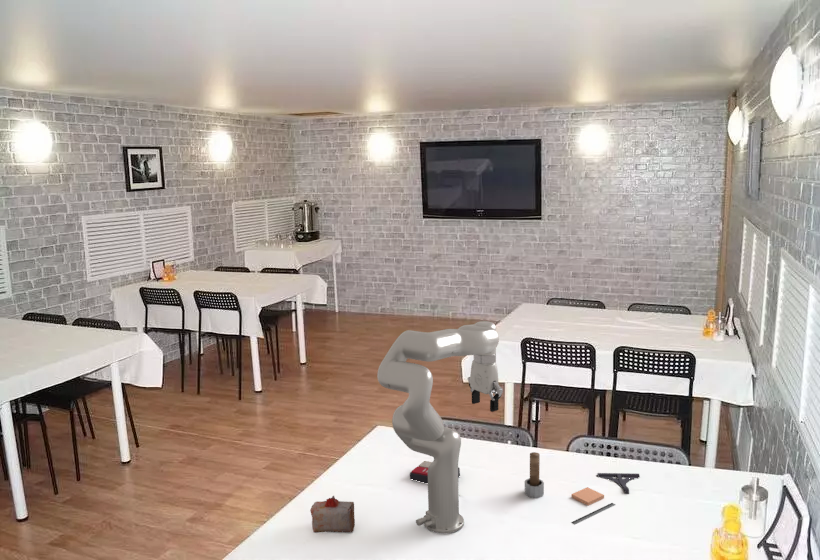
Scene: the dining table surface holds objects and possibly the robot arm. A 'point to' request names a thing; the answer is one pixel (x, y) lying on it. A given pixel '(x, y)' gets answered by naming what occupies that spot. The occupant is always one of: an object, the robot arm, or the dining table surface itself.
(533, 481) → the rod
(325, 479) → the dining table surface
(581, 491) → the tile
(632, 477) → the bracket
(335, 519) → the food item
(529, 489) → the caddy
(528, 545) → the dining table surface
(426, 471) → the calculator
